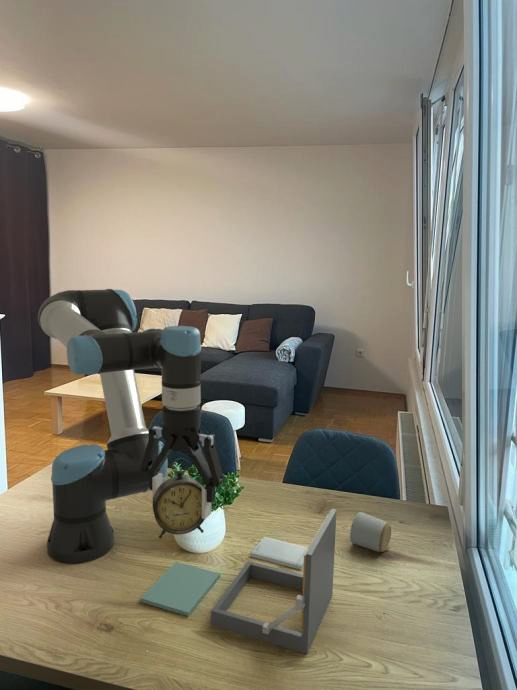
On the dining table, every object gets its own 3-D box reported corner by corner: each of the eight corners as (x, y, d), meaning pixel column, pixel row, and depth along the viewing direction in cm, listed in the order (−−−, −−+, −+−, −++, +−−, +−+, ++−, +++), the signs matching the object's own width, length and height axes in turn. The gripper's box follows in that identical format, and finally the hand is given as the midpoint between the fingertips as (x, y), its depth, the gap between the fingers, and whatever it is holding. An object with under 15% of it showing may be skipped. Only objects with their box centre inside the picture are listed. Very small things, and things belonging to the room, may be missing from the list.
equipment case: (207, 628, 101) (208, 535, 98) (247, 573, 119) (249, 492, 116) (305, 658, 94) (309, 558, 91) (332, 595, 112) (336, 509, 109)
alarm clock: (154, 543, 107) (154, 465, 104) (151, 529, 112) (151, 455, 109) (209, 536, 110) (210, 460, 107) (204, 523, 115) (204, 450, 112)
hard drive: (250, 552, 125) (301, 565, 120) (264, 535, 133) (312, 547, 128) (250, 559, 126) (301, 572, 121) (264, 541, 133) (312, 553, 128)
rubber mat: (140, 601, 109) (140, 598, 108) (175, 565, 121) (175, 561, 121) (188, 616, 105) (188, 612, 104) (220, 576, 117) (220, 573, 117)
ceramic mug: (381, 559, 126) (383, 528, 124) (348, 548, 130) (350, 518, 129) (395, 540, 134) (398, 511, 133) (364, 530, 139) (366, 502, 137)
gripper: (120, 403, 107) (123, 507, 111) (226, 418, 99) (225, 530, 102) (142, 394, 114) (143, 492, 118) (242, 407, 105) (241, 513, 109)
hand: (181, 510), depth 110 cm, fingers closed on alarm clock, 11 cm apart
